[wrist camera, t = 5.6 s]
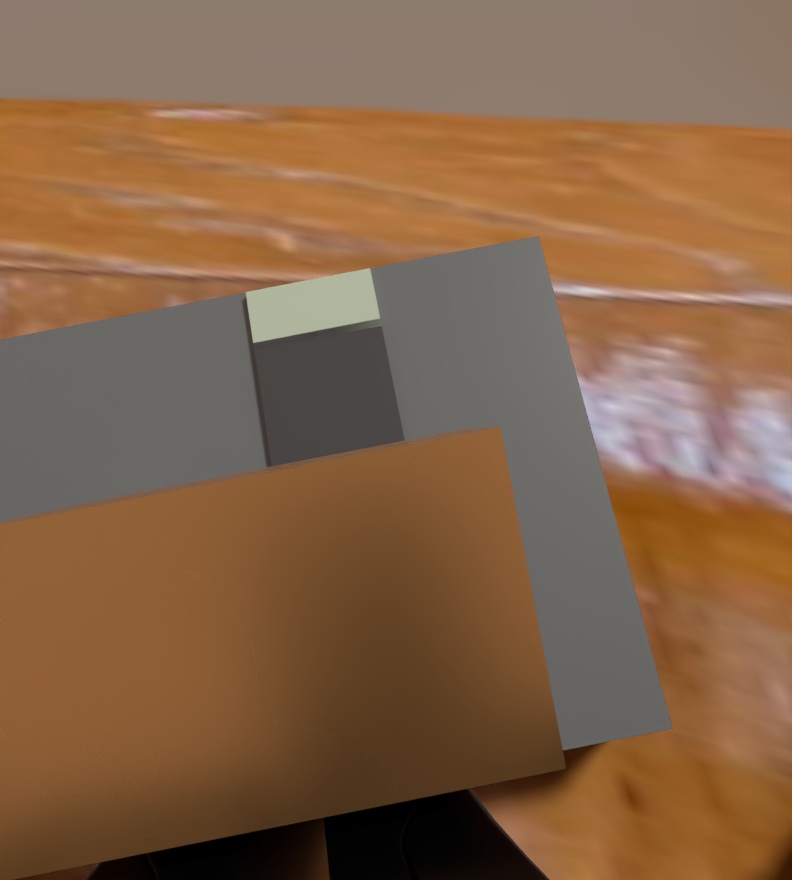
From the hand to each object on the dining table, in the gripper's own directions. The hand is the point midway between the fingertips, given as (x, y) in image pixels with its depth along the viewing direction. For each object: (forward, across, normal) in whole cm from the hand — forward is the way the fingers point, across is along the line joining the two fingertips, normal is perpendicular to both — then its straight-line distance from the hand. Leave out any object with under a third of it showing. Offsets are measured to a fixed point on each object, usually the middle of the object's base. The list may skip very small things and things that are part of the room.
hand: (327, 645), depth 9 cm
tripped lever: (+6, 0, -2) cm, 6 cm away
